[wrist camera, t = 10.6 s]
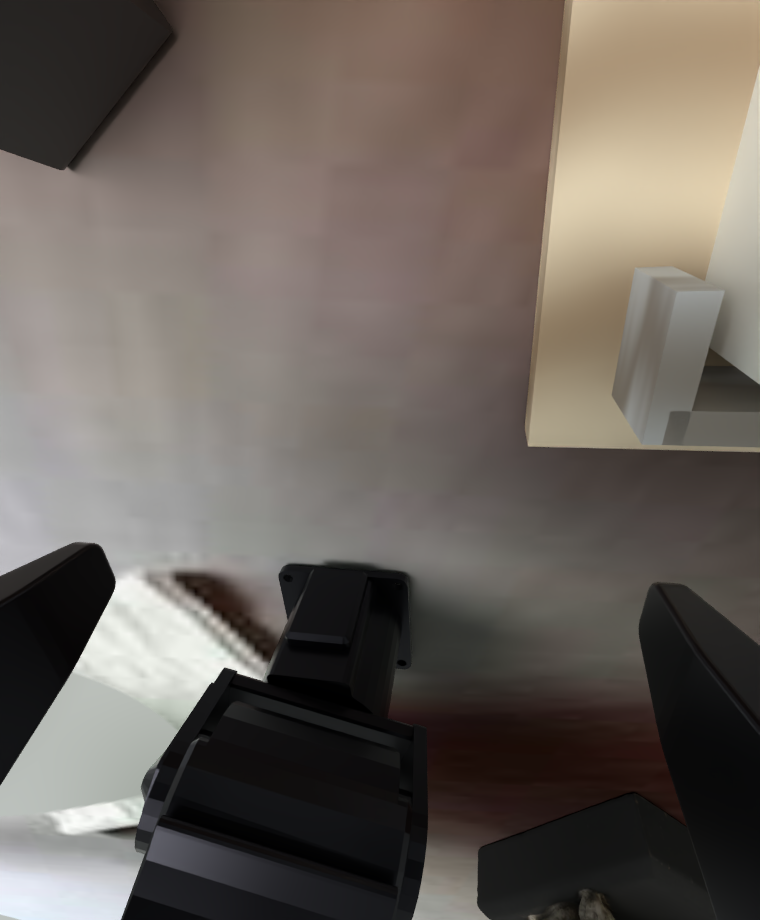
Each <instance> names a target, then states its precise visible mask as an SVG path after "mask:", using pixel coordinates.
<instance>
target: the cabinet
mask: <svg viewBox="0 0 760 920" xmlns="http://www.w3.org/2000/svg"><path fill="white" fill-rule="evenodd" d="M759 66H760V0H565V6H564V16H563V27H562V37H561V48H560V58H559V69H558V80H557V90H556V101H555V111H554V122H553V133H552V143H551V154H550V164H549V175H548V186H547V196H546V207H545V217H544V228H543V238H542V249H541V260H540V270H539V281H538V291H537V302H536V313H535V323H534V334H533V344H532V355H531V366H530V376H529V387H528V397H527V408H526V418H525V433H526V438H527V443H528V446H530V447H570V448H610V449H650V450H690V451H731V452H760V384H758V383H757V382H755V381H754V380H753V379H751V378H750V377H749V376H747V375H746V374H745V373H743V372H742V371H741V370H739V369H738V368H736V367H735V366H734V365H732V364H731V363H730V362H728V361H727V360H726V359H724V358H723V357H722V356H720V355H719V354H717V353H716V352H715V351H713V350H712V349H711V348H709V346H710V343H711V339H712V335H713V332H714V328H715V325H716V321H717V317H718V314H719V310H720V306H721V303H722V299H723V296H724V292H725V290H723V289H721V288H718V287H716V286H714V285H712V284H710V283H708V282H705V279H706V275H707V271H708V267H709V263H710V259H711V255H712V251H713V247H714V243H715V239H716V235H717V231H718V227H719V223H720V219H721V216H722V212H723V208H724V204H725V200H726V196H727V192H728V188H729V184H730V180H731V176H732V172H733V168H734V164H735V160H736V156H737V152H738V149H739V145H740V141H741V137H742V133H743V129H744V125H745V121H746V117H747V113H748V109H749V105H750V101H751V97H752V93H753V89H754V86H755V82H756V78H757V74H758V70H759Z"/></svg>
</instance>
